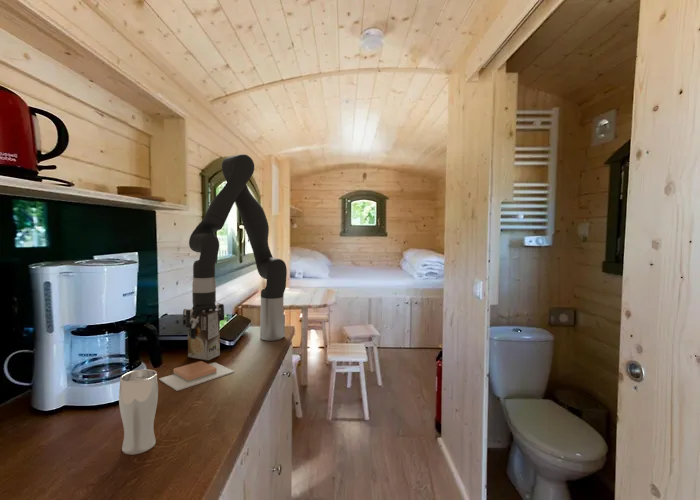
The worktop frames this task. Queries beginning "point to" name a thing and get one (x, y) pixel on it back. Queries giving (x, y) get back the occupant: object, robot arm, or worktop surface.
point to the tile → (195, 371)
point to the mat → (180, 383)
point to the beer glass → (138, 409)
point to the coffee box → (205, 336)
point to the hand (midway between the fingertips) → (204, 335)
